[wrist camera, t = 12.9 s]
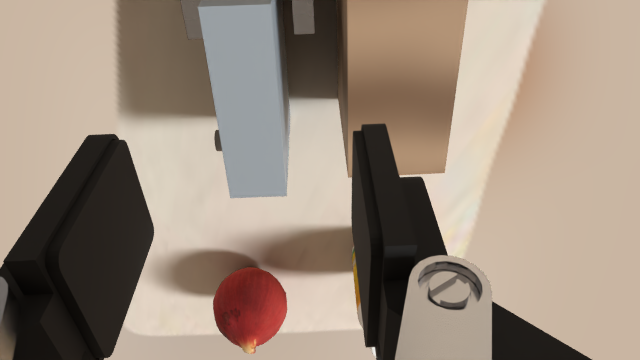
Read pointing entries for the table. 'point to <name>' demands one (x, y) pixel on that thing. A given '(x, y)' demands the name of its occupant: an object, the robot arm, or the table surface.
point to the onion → (249, 307)
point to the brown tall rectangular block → (400, 75)
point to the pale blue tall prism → (249, 92)
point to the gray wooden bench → (300, 7)
